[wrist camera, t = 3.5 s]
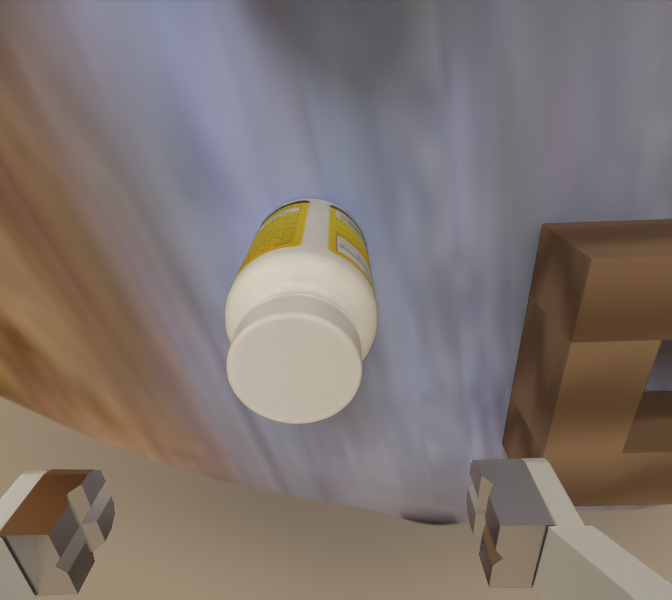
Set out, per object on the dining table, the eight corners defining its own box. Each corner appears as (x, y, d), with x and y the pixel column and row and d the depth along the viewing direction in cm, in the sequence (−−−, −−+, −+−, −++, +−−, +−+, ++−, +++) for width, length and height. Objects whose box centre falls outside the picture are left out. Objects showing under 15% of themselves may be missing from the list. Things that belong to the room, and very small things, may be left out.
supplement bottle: (248, 288, 22) (190, 424, 14) (266, 183, 20) (209, 267, 11) (351, 310, 23) (359, 455, 14) (380, 211, 20) (412, 312, 12)
